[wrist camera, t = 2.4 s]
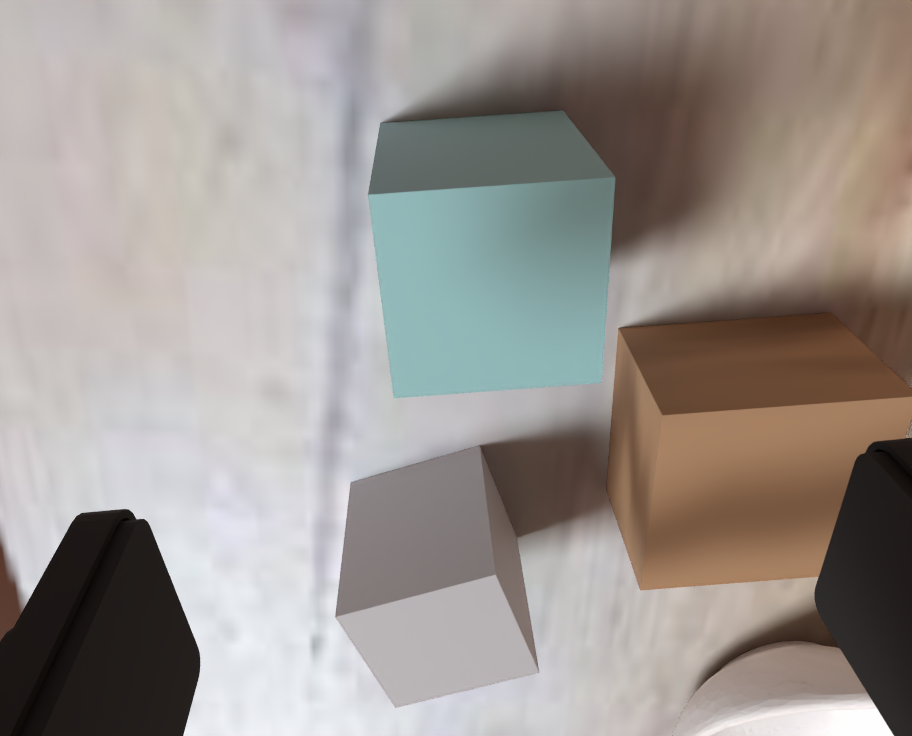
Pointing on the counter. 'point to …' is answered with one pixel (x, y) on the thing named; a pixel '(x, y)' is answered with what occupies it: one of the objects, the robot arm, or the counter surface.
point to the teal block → (491, 252)
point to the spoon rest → (783, 696)
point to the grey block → (434, 580)
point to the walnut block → (741, 444)
